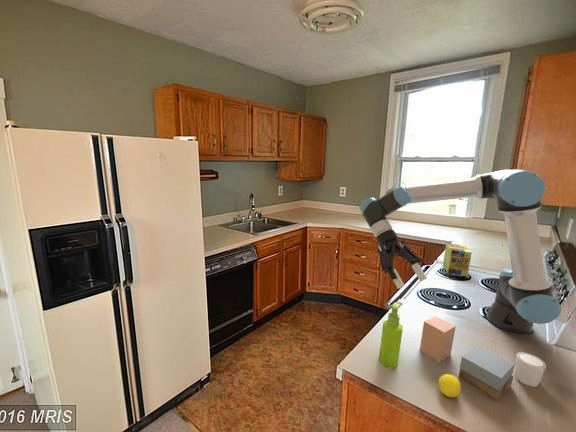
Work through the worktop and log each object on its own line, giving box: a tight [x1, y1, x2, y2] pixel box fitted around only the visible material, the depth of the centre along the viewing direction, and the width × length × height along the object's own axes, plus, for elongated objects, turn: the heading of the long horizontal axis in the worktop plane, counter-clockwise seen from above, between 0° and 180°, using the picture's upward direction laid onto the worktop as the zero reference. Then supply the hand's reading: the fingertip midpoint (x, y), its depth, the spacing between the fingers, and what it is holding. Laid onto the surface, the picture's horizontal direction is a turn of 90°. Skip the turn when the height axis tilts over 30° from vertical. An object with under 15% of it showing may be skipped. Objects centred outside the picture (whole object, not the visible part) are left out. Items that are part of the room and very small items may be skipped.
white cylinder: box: [514, 351, 547, 388], centre depth 84 cm, size 7×7×7 cm
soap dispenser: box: [378, 301, 404, 369], centre depth 89 cm, size 6×7×20 cm
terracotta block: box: [419, 315, 457, 363], centre depth 95 cm, size 7×7×11 cm
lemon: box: [438, 373, 462, 398], centre depth 78 cm, size 7×5×5 cm
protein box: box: [442, 242, 472, 278], centre depth 168 cm, size 10×15×16 cm
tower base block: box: [458, 367, 514, 402], centre depth 83 cm, size 10×10×4 cm
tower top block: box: [459, 344, 515, 391], centre depth 82 cm, size 10×10×4 cm
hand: (413, 283), depth 100 cm, fingers open, 13 cm apart
